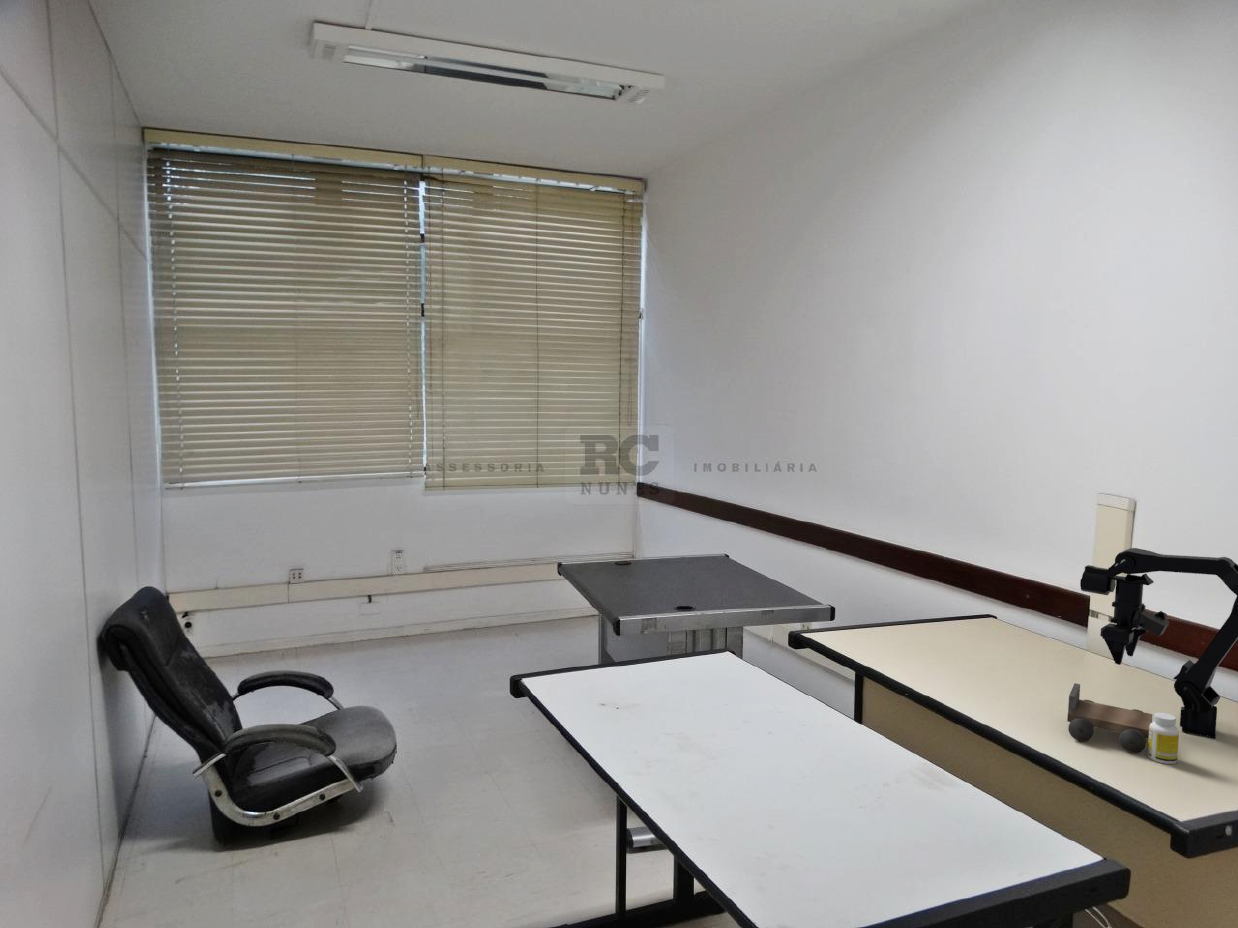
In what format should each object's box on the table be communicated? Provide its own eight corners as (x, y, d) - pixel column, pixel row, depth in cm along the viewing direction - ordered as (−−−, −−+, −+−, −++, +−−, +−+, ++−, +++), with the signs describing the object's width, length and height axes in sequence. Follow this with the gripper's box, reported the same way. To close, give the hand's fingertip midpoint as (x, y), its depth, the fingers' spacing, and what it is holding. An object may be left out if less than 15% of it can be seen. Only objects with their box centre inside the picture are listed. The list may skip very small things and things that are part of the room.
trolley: (1151, 733, 189) (1153, 694, 188) (1147, 756, 177) (1150, 715, 176) (1073, 716, 198) (1075, 680, 197) (1065, 737, 186) (1067, 698, 185)
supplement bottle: (1183, 762, 174) (1186, 719, 173) (1163, 766, 173) (1166, 722, 172) (1160, 752, 179) (1163, 709, 178) (1141, 755, 178) (1144, 712, 177)
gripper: (1154, 613, 187) (1150, 677, 189) (1177, 599, 200) (1172, 659, 201) (1101, 603, 195) (1097, 665, 197) (1126, 590, 208) (1122, 648, 209)
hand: (1124, 659), depth 201 cm, fingers open, 9 cm apart
